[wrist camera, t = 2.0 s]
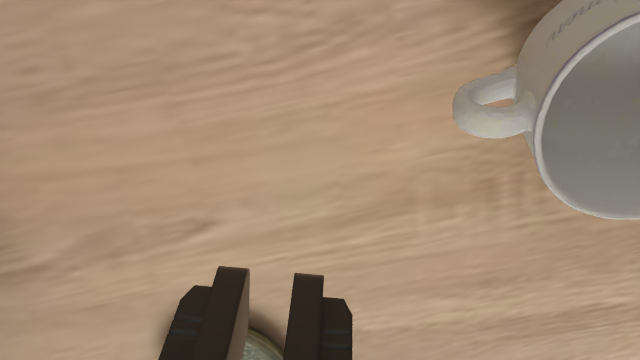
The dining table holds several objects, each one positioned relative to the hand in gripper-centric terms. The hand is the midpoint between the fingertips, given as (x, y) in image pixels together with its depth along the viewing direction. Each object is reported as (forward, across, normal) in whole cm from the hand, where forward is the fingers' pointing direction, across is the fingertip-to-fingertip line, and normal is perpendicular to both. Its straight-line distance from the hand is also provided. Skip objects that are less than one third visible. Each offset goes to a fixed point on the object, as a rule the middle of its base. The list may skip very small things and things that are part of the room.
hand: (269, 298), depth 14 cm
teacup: (+21, -14, 0) cm, 25 cm away
